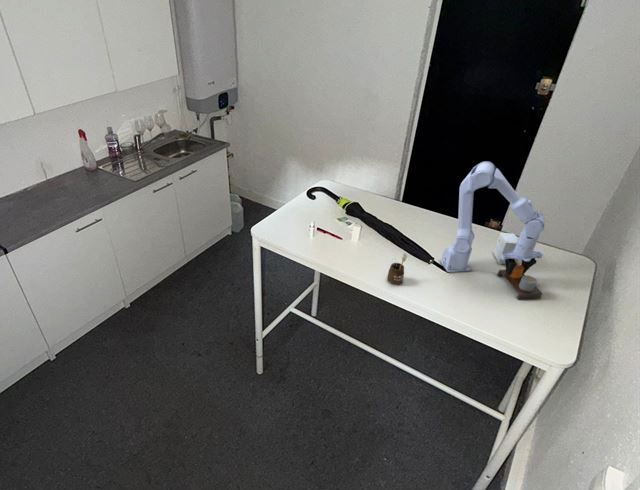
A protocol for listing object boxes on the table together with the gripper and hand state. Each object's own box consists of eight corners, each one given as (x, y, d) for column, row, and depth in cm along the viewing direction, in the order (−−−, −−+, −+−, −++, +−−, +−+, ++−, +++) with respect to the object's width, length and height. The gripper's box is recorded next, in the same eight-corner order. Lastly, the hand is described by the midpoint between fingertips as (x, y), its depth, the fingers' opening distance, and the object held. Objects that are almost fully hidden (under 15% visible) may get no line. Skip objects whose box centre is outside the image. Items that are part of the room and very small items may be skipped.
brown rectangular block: (518, 299, 149) (520, 294, 148) (497, 275, 162) (499, 269, 160) (539, 298, 149) (542, 292, 148) (516, 273, 162) (519, 268, 160)
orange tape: (511, 278, 155) (514, 270, 153) (504, 271, 159) (507, 263, 157) (523, 278, 155) (527, 270, 153) (516, 270, 159) (519, 262, 157)
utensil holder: (384, 278, 163) (388, 254, 156) (396, 274, 165) (401, 249, 158) (393, 286, 159) (398, 261, 152) (406, 282, 161) (411, 257, 154)
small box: (513, 265, 167) (521, 243, 161) (498, 263, 168) (506, 242, 162) (507, 254, 173) (515, 233, 167) (493, 253, 174) (500, 232, 168)
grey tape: (523, 292, 149) (526, 283, 147) (516, 283, 153) (519, 275, 150) (536, 291, 149) (539, 283, 147) (528, 283, 153) (532, 275, 150)
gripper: (512, 251, 146) (501, 280, 154) (552, 249, 146) (539, 278, 154) (502, 240, 152) (491, 269, 159) (540, 238, 152) (528, 267, 159)
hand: (514, 273), depth 157 cm, fingers closed on orange tape, 5 cm apart
